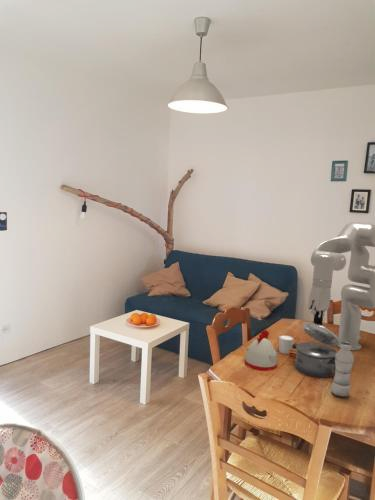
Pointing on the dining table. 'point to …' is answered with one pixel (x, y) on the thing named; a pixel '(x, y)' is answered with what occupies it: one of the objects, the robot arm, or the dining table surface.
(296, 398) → the dining table surface
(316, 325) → the cooker lid
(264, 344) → the kitchen timer
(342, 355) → the plastic bottle
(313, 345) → the cooker pot
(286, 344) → the white cylinder
